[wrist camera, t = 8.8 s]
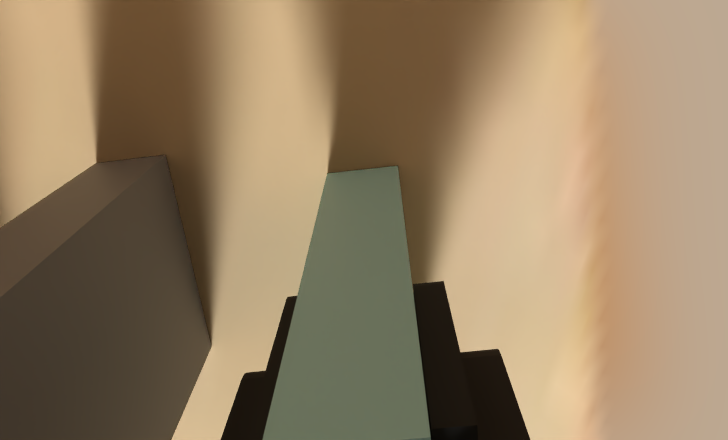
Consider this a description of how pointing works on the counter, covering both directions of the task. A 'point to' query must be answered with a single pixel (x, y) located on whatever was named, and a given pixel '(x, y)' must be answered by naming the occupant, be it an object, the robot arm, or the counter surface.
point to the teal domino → (353, 323)
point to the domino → (99, 310)
